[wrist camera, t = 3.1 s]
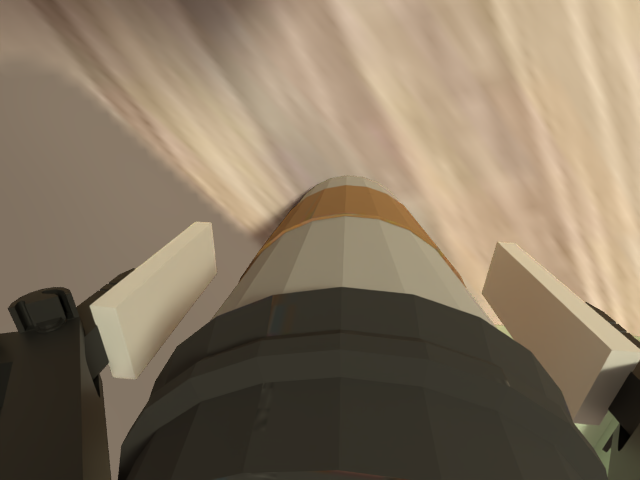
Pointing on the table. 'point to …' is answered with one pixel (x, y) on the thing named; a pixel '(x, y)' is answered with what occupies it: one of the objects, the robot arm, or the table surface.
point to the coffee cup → (354, 367)
